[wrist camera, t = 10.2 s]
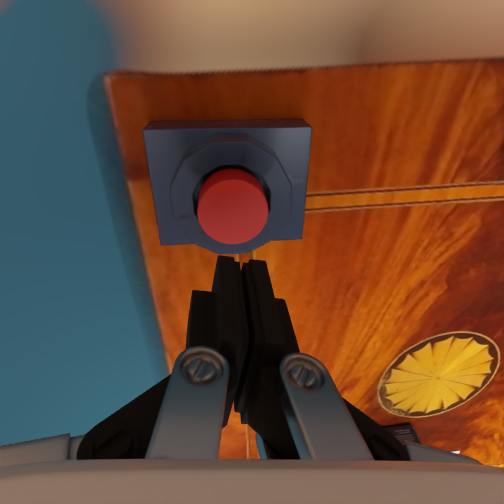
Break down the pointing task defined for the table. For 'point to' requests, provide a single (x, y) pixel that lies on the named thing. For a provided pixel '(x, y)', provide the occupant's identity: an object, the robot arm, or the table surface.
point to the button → (232, 206)
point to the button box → (225, 157)
